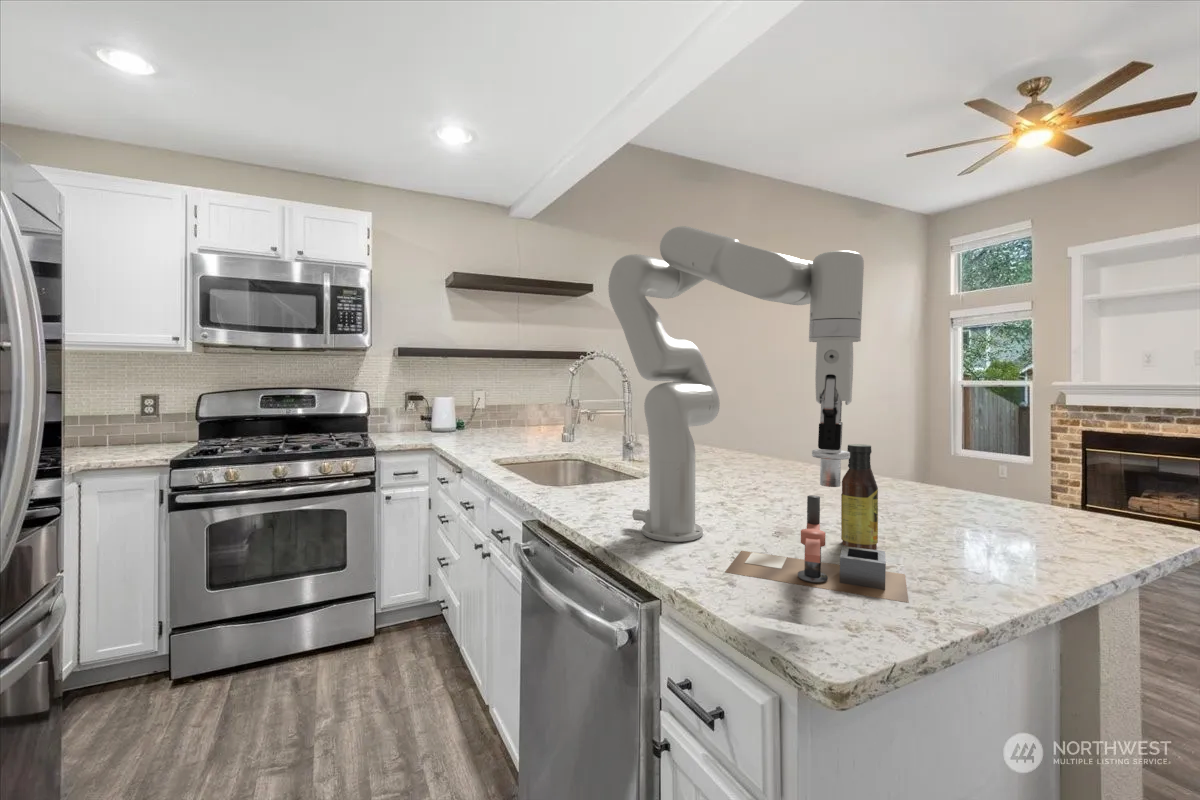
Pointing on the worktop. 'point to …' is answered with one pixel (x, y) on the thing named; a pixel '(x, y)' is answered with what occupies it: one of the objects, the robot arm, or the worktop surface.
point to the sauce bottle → (859, 501)
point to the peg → (830, 465)
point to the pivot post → (812, 573)
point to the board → (788, 572)
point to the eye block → (862, 567)
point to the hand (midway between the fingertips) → (829, 446)
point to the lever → (813, 531)
